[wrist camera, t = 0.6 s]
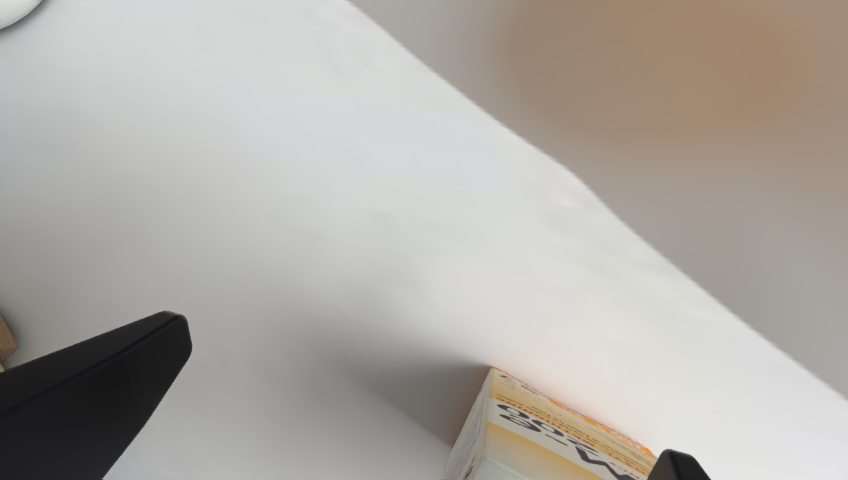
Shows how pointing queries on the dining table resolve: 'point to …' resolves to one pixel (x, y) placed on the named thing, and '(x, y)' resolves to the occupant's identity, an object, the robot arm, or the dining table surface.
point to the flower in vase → (15, 10)
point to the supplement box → (538, 440)
